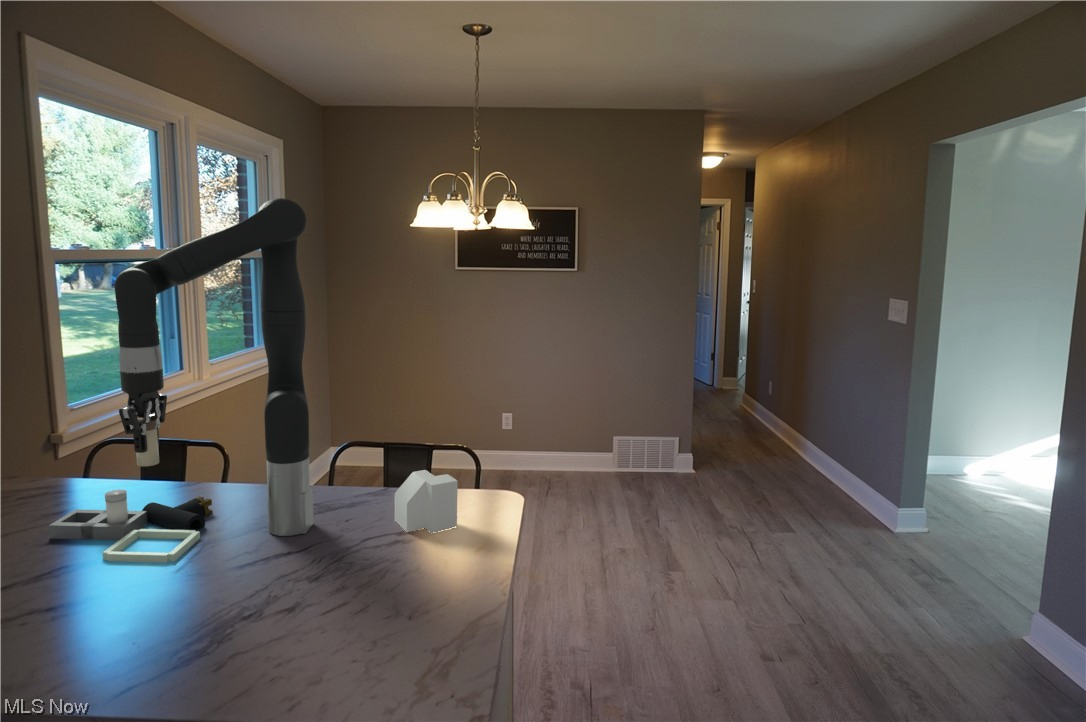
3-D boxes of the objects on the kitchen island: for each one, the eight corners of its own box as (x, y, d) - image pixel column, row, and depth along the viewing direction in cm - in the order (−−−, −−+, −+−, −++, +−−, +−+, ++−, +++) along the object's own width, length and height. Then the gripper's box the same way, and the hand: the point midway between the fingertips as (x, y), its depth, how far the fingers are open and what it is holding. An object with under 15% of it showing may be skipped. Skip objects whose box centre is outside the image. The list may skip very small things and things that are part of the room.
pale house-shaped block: (456, 528, 164) (457, 480, 162) (412, 538, 158) (412, 488, 156) (437, 513, 173) (437, 467, 171) (394, 522, 167) (394, 474, 164)
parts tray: (201, 541, 153) (201, 530, 152) (173, 567, 140) (172, 555, 140) (135, 539, 152) (135, 528, 152) (101, 565, 140) (100, 553, 140)
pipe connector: (183, 489, 169) (227, 501, 163) (185, 510, 170) (229, 522, 164) (139, 506, 158) (185, 519, 152) (141, 527, 159) (186, 541, 153)
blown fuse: (163, 460, 145) (160, 419, 144) (152, 466, 141) (149, 424, 139) (143, 460, 145) (140, 418, 143) (132, 466, 141) (129, 423, 139)
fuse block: (147, 527, 158) (146, 511, 158) (125, 544, 149) (123, 527, 149) (77, 525, 158) (75, 509, 157) (50, 542, 149) (48, 525, 148)
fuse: (132, 527, 156) (130, 489, 154) (122, 535, 152) (119, 496, 150) (114, 527, 156) (111, 489, 154) (103, 534, 152) (100, 496, 150)
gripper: (140, 374, 133) (146, 460, 136) (177, 361, 147) (182, 439, 150) (101, 373, 132) (108, 459, 135) (142, 361, 146) (148, 438, 149)
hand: (147, 448), depth 142 cm, fingers closed on blown fuse, 4 cm apart
